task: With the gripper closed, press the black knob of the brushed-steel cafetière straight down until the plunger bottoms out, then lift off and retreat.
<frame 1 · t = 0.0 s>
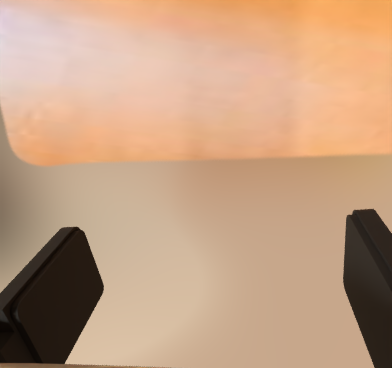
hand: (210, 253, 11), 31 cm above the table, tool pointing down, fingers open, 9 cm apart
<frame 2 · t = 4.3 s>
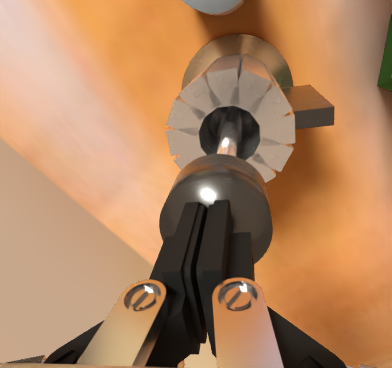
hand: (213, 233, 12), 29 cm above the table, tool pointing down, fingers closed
plunger: (227, 149, 20), point 19 cm above the table, slide at 0.9 cm, touching gripper
cafetiere: (235, 93, 38), on the table
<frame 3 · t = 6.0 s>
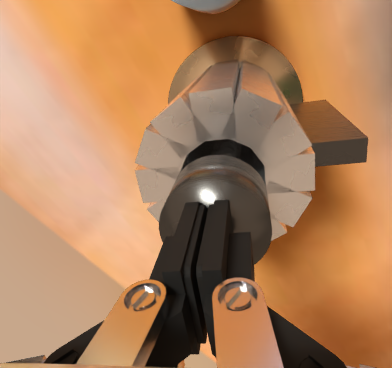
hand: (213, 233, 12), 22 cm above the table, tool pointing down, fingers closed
plunger: (226, 149, 20), point 12 cm above the table, slide at 8.1 cm, touching gripper
cafetiere: (233, 108, 31), on the table
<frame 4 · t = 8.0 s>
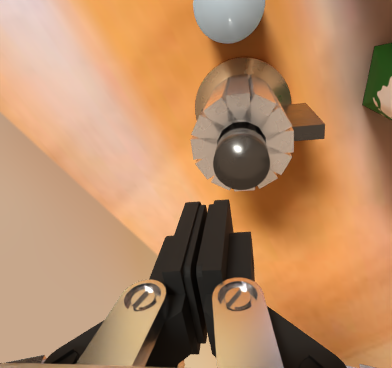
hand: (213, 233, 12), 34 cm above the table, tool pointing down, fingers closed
plunger: (241, 131, 33), point 12 cm above the table, slide at 8.1 cm
cafetiere: (242, 107, 44), on the table
pale blue egg: (231, 10, 39), on the table
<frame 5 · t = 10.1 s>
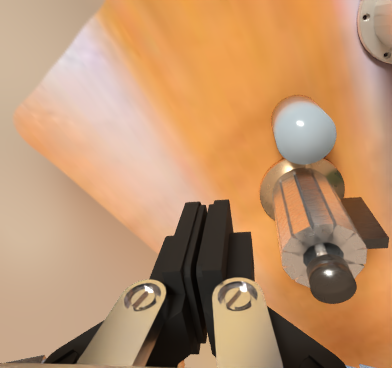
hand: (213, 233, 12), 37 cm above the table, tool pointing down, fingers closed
plunger: (315, 234, 40), point 12 cm above the table, slide at 8.1 cm
cafetiere: (300, 191, 51), on the table
pale blue egg: (295, 119, 46), on the table
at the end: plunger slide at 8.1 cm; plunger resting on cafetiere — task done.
